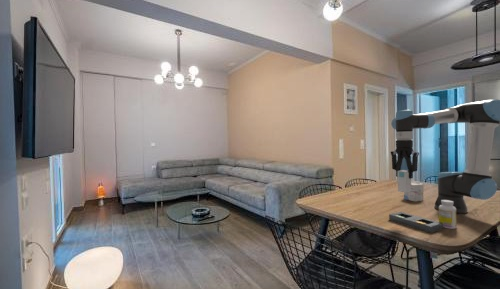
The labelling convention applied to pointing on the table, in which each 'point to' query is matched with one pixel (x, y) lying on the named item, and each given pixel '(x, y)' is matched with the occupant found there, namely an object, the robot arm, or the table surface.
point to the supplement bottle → (447, 214)
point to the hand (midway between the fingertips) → (404, 183)
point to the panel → (416, 222)
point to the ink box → (415, 192)
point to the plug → (403, 182)
